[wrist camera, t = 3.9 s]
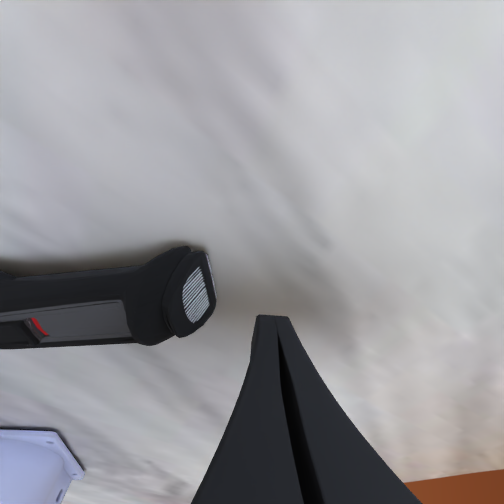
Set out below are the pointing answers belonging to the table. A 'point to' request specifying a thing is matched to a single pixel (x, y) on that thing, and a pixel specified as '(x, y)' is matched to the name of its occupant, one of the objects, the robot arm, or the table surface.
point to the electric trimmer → (109, 303)
